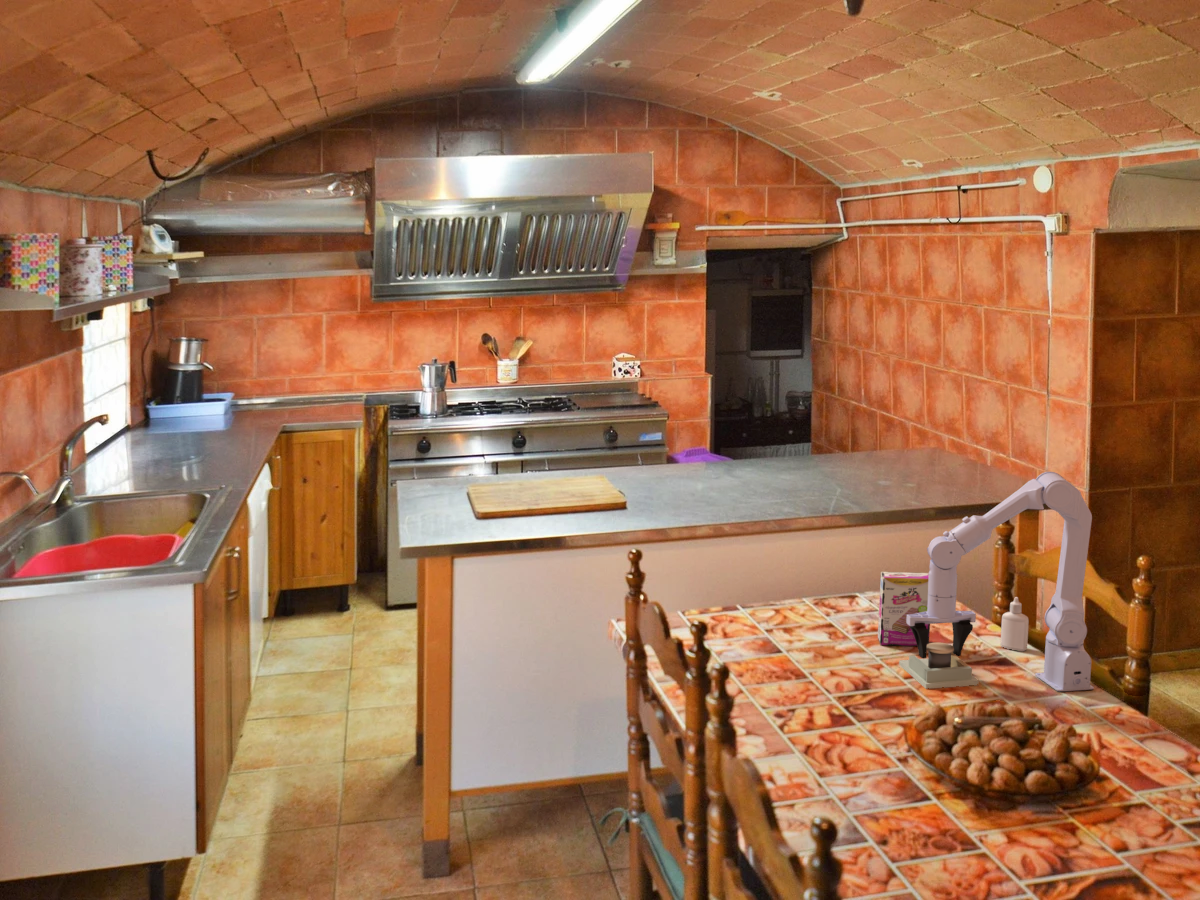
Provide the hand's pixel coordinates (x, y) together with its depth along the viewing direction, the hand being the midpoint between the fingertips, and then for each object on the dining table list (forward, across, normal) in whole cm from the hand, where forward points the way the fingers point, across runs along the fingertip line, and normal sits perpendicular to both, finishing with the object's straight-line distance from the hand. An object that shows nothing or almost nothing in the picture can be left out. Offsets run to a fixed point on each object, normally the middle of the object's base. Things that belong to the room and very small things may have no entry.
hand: (939, 655), depth 239 cm
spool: (+4, 0, 0) cm, 4 cm away
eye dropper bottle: (+5, -24, -14) cm, 28 cm away
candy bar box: (+5, -1, -21) cm, 22 cm away
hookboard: (+5, 0, -1) cm, 5 cm away
